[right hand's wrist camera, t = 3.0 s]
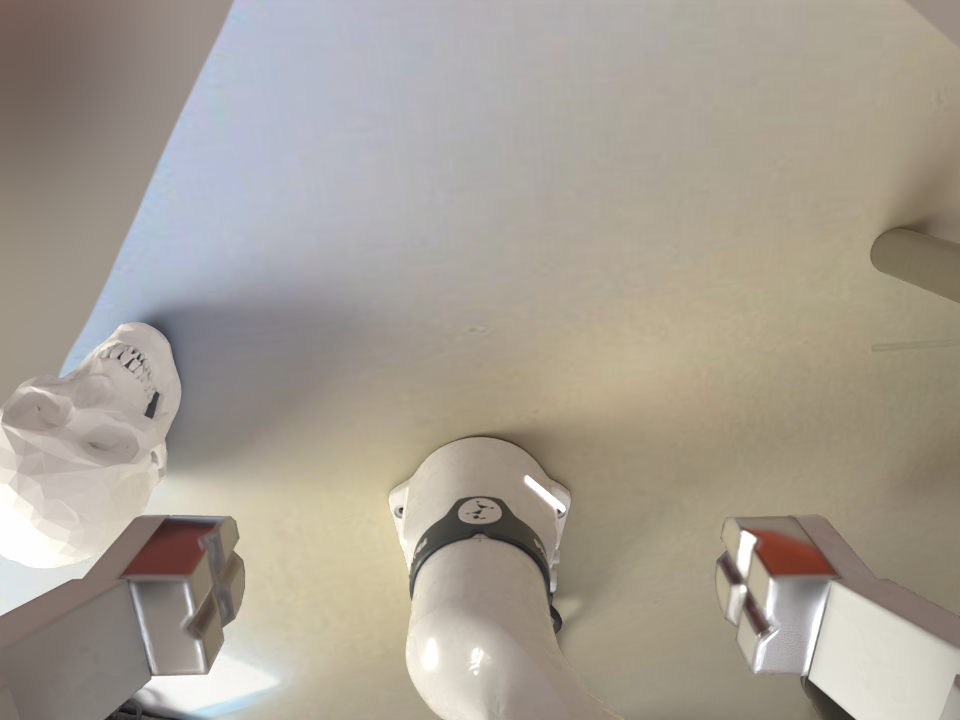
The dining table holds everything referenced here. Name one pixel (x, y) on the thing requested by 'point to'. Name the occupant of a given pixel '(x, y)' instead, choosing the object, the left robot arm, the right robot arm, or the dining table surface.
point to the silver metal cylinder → (919, 261)
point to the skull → (85, 449)
